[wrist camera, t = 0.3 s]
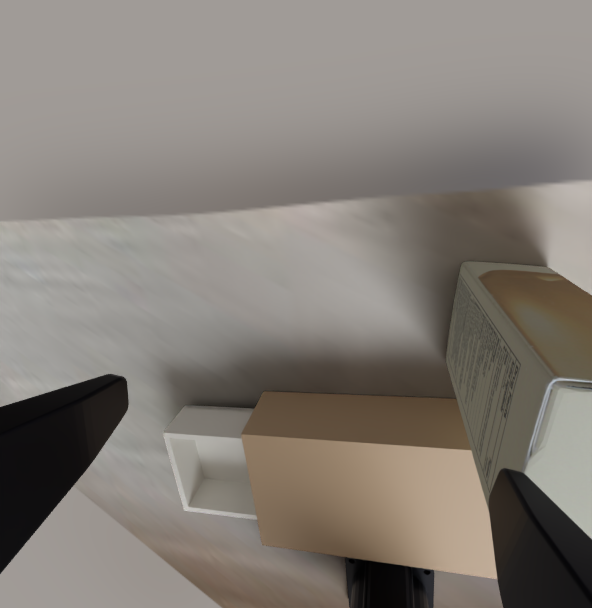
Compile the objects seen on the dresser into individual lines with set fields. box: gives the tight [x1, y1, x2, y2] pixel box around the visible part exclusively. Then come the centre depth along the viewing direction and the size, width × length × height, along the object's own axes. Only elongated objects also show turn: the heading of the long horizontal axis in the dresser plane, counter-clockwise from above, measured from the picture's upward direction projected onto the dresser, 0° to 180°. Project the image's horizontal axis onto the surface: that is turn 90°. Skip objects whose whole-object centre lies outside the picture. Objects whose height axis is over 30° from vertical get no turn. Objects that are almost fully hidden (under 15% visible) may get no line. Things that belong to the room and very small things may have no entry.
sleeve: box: [241, 391, 497, 579], centre depth 23 cm, size 9×16×4 cm, turn 96°
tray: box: [163, 405, 257, 520], centre depth 25 cm, size 7×16×3 cm, turn 96°
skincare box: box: [446, 261, 592, 539], centre depth 15 cm, size 6×4×12 cm
